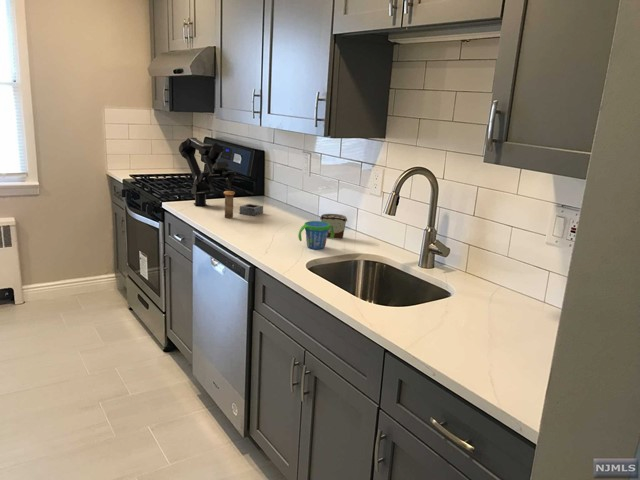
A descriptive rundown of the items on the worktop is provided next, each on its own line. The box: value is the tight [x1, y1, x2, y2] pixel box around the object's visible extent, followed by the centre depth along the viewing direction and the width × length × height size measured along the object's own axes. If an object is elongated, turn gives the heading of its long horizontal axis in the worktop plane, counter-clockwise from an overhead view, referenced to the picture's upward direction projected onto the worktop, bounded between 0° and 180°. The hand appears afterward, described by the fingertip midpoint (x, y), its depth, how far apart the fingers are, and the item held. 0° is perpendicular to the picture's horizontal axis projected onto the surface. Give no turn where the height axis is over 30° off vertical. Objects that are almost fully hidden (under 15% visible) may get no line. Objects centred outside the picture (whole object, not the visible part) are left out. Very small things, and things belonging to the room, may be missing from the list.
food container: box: [319, 213, 348, 240], centre depth 228 cm, size 12×6×10 cm, turn 84°
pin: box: [223, 190, 236, 219], centre depth 251 cm, size 5×5×13 cm
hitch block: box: [239, 203, 264, 217], centre depth 264 cm, size 9×9×4 cm
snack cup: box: [298, 220, 335, 250], centre depth 209 cm, size 16×10×10 cm
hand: (222, 190), depth 254 cm, fingers open, 9 cm apart
